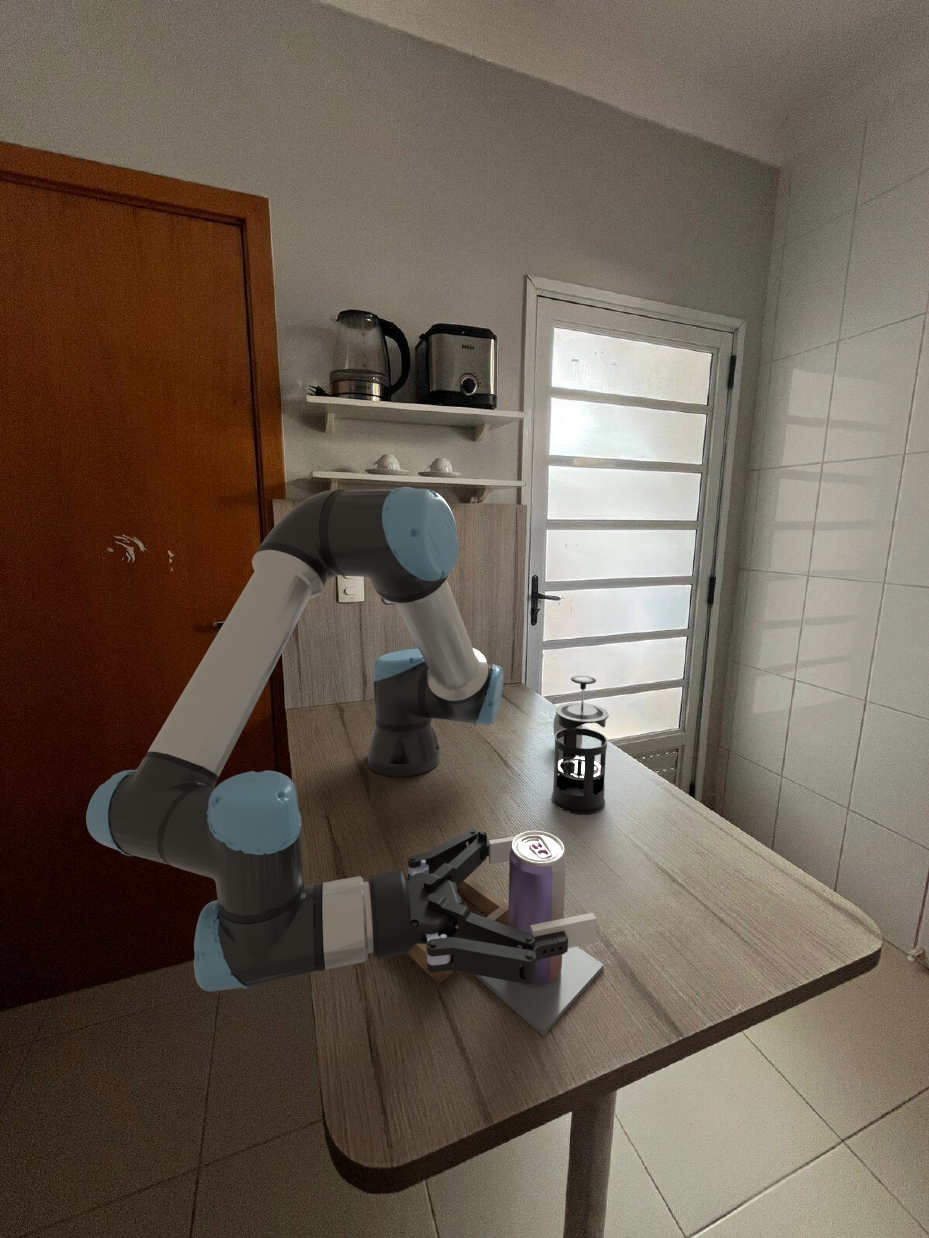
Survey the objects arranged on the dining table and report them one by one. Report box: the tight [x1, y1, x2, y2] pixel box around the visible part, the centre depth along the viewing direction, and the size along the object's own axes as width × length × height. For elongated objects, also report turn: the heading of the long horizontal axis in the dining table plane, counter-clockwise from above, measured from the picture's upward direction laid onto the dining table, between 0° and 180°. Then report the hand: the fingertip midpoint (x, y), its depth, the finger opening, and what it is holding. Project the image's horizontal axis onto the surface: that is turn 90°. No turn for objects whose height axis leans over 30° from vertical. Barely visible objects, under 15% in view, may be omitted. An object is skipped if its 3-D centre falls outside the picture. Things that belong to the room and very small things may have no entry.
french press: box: [551, 675, 609, 815], centre depth 91 cm, size 12×9×23 cm
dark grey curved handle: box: [553, 714, 580, 753], centre depth 110 cm, size 10×4×10 cm, turn 13°
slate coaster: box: [472, 946, 604, 1037], centre depth 58 cm, size 11×11×1 cm
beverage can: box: [508, 830, 567, 987], centre depth 56 cm, size 6×6×15 cm
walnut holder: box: [406, 876, 509, 984], centre depth 64 cm, size 12×12×2 cm
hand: (564, 880), depth 57 cm, fingers open, 13 cm apart
